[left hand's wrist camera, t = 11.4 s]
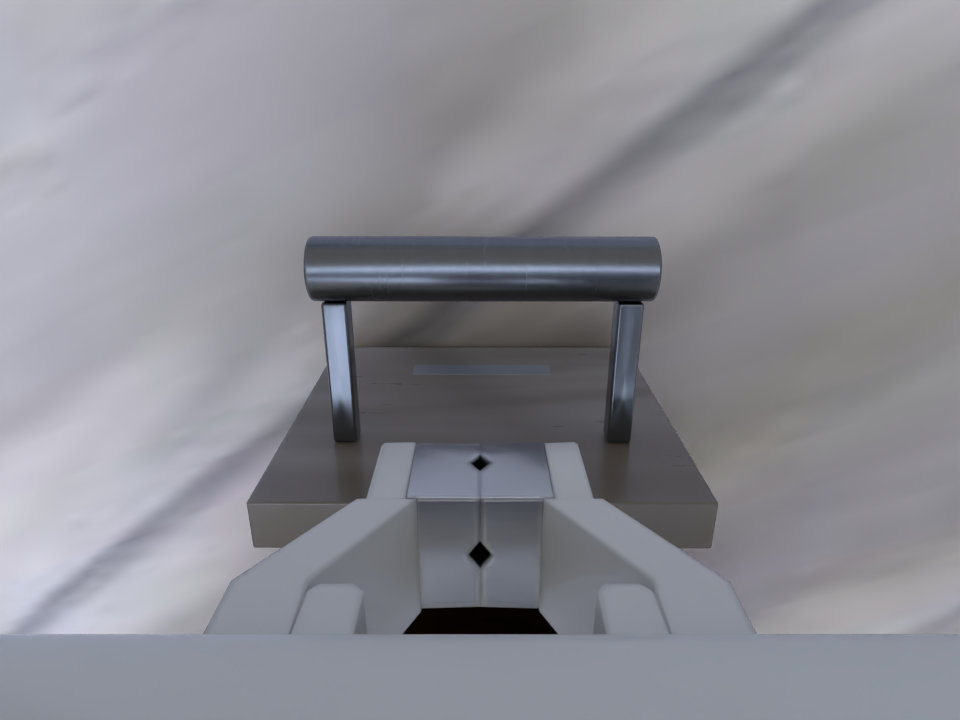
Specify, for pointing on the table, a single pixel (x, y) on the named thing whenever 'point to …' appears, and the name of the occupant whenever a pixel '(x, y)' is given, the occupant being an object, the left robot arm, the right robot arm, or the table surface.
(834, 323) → the table surface
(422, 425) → the drawer
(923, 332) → the table surface
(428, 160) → the table surface
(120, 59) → the table surface
